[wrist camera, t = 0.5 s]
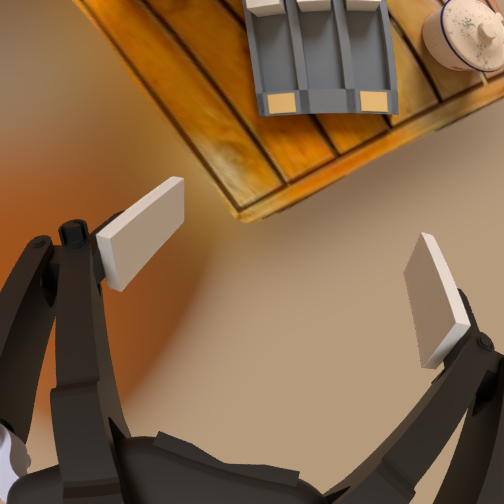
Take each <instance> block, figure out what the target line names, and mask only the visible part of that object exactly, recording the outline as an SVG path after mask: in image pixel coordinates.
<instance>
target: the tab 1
mask: <svg viewBox="0 0 504 504" xmlns="http://www.w3.org/2000/svg"><path fill="white" fill-rule="evenodd" d="M246 5H247V9H248V10H250V11H251V12H252V13H253V14H255V15H256V16H257V17H263V16H270V15H278V14H286V8H285V2H284V0H246Z"/></svg>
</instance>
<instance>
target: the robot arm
mask: <svg viewBox="0 0 504 504" xmlns="http://www.w3.org/2000/svg"><path fill="white" fill-rule="evenodd" d="M183 222H184V178H180V177H174V176H172V177H170V178H169V179H168V180H166V181H165V182H163V183H162V184H161V185H159V186H158V187H156V188H155V189H154V190H152V191H151V192H150V193H148V194H147V195H145V196H144V197H143V198H141V199H140V200H139V201H138V202H136V203H135V204H134V205H132V206H131V207H130V208H128V209H127V210H126V211H121V212H118V213H116V214H114V215H113V216H112V217H110V218H109V219H108V221H105V222H104V223H103V224H102V225H100V226H99V227H98V228H96V229H95V230H94V231H93V232H92V233H90V234H89V232H88V228H87V223H86V222H85V221H84V220H80V219H76V220H70V221H68V222H66V223H64V224H62V226H60V227H59V229H58V231H59V236H60V239H61V243H62V245H53V243H52V240H51V237H49V236H47V235H42V236H37V237H35V238H34V239H32V240H31V241H30V242H29V243H28V244H27V246H26V248H25V249H24V251H23V252H22V254H21V256H20V257H19V259H18V261H17V262H16V264H15V266H14V268H13V269H12V271H11V273H10V275H9V277H8V279H7V281H6V282H5V284H4V286H3V288H2V290H1V292H0V499H2V500H3V501H4V502H5V503H6V504H409V503H410V501H411V500H412V499H413V497H414V495H415V493H416V492H415V490H414V487H415V486H416V484H417V483H418V482H419V480H420V479H421V478H422V476H423V475H424V474H425V473H426V471H427V470H428V469H429V468H430V466H431V465H432V463H433V462H434V461H435V459H436V458H437V456H438V455H439V454H440V452H441V451H442V449H443V448H444V446H445V445H446V443H447V442H448V440H449V439H450V437H451V435H452V434H453V432H454V431H455V429H456V427H457V426H458V424H459V422H460V421H461V419H462V417H463V415H464V414H465V412H466V410H467V408H468V410H467V414H466V418H465V421H464V425H463V428H462V431H461V434H460V438H459V441H458V444H457V447H456V450H455V452H454V455H453V458H452V460H451V463H450V466H449V468H448V471H447V473H446V476H445V478H444V480H443V483H442V485H441V487H440V489H439V492H438V494H437V496H436V498H435V500H434V502H433V504H504V355H502V354H500V353H498V352H496V351H494V345H493V342H492V341H491V339H490V338H489V337H488V336H487V335H486V334H484V333H482V332H480V331H479V329H478V326H477V323H476V320H475V317H474V315H473V313H472V310H471V307H470V306H469V302H468V300H467V297H466V296H465V294H464V293H463V292H462V290H461V289H458V288H457V287H456V285H455V282H454V280H453V278H452V275H451V273H450V271H449V269H448V266H447V264H446V262H445V260H444V257H443V255H442V253H441V251H440V249H439V247H438V245H437V243H436V241H435V239H434V237H433V236H432V235H429V234H426V233H422V232H421V234H420V236H419V239H418V241H417V243H416V246H415V248H414V250H413V253H412V255H411V257H410V259H409V262H408V264H407V266H406V268H405V270H404V272H403V274H404V278H405V282H406V286H407V291H408V295H409V300H410V304H411V309H412V314H413V319H414V324H415V330H416V335H417V341H418V347H419V354H420V361H421V367H422V368H428V369H436V368H437V367H438V366H439V365H440V364H441V363H442V361H443V362H444V367H445V368H444V369H443V370H442V372H441V373H440V374H439V375H438V376H437V377H436V378H435V379H434V380H433V381H432V382H431V383H432V385H431V386H430V388H429V389H428V390H427V392H426V393H425V394H424V396H423V397H422V398H421V399H420V401H419V402H418V403H417V404H416V406H415V407H414V408H413V409H412V411H411V412H410V413H409V414H408V415H407V417H406V418H405V419H404V420H403V421H402V422H401V423H400V425H399V426H398V427H397V428H396V429H395V430H394V431H393V432H392V433H391V434H390V436H389V437H388V438H387V439H386V440H385V441H384V442H383V443H382V444H381V445H380V446H379V447H378V448H377V449H376V450H375V451H374V452H373V453H372V454H371V455H370V456H369V457H368V458H367V459H366V460H365V461H364V462H363V463H362V464H360V465H359V466H358V467H357V468H356V469H355V470H354V471H353V472H352V473H351V474H349V475H348V476H347V477H346V478H345V479H344V480H342V481H341V482H340V483H338V484H337V485H335V486H334V487H333V488H331V489H330V490H329V491H327V492H326V493H324V494H323V495H322V494H321V493H320V492H319V491H318V490H317V489H316V488H314V487H313V486H312V485H310V484H309V483H307V482H305V481H303V480H301V479H299V478H298V477H299V473H300V472H299V471H294V470H289V469H283V468H278V467H273V466H269V465H250V464H248V465H247V464H227V463H223V462H221V461H219V460H218V459H216V458H214V457H213V456H211V455H209V454H207V453H206V452H204V451H203V450H201V449H199V448H198V447H196V446H195V445H193V444H191V443H188V442H186V441H183V440H181V439H178V438H175V437H173V436H170V435H167V434H165V433H163V432H160V431H159V432H158V434H157V436H156V437H148V436H147V437H146V436H140V437H131V434H130V431H129V429H128V427H127V424H126V422H125V419H124V416H123V412H122V408H121V404H120V400H119V395H118V391H117V386H116V381H115V377H114V372H113V366H112V361H111V355H110V349H109V343H108V336H107V329H106V321H105V313H104V304H103V295H102V286H101V283H100V282H101V281H102V280H103V279H104V278H106V281H107V285H108V287H109V288H112V289H114V290H117V291H120V292H122V291H123V289H124V288H125V287H126V286H127V285H128V283H129V282H130V281H131V280H132V279H133V278H134V276H135V275H136V274H137V273H138V272H139V271H140V270H141V268H142V267H143V266H144V265H145V264H146V263H147V262H148V260H149V259H150V258H151V257H152V256H153V255H154V254H155V252H156V251H157V250H158V249H159V248H160V247H161V246H162V245H163V244H164V243H165V242H166V240H167V239H168V238H169V237H170V236H171V235H172V234H173V233H174V232H175V231H176V230H177V228H179V227H180V225H181V224H182V223H183ZM55 316H56V331H55V332H56V333H55V338H56V339H55V347H56V348H55V349H56V350H55V352H56V353H55V354H56V378H57V379H56V380H57V386H56V388H53V389H51V392H50V404H51V414H52V424H53V432H54V439H55V445H56V451H57V456H58V462H59V464H58V465H55V466H52V467H49V468H46V469H43V470H40V471H37V472H33V473H30V474H28V473H27V468H28V467H30V465H31V458H30V456H29V455H28V454H27V449H26V446H25V444H26V441H27V438H28V434H29V430H30V426H31V420H32V414H33V408H34V402H35V396H36V391H37V386H38V381H39V376H40V372H41V367H42V363H43V359H44V354H45V351H46V347H47V344H48V340H49V336H50V332H51V329H52V326H53V323H54V319H55Z"/></svg>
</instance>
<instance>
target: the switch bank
mask: <svg viewBox="0 0 504 504" xmlns="http://www.w3.org/2000/svg"><path fill="white" fill-rule="evenodd" d="M284 2H285V8H286V14H278V15H270V16H263V17H257V16H256V15H255V14H253V13H252V12H251V11H250V10H248V9H247V5H246V0H242V3H243V10H244V16H245V22H246V29H247V35H248V42H249V49H250V55H251V62H252V69H253V76H254V83H255V90H256V98H257V105H258V113H259V117H265V116H277V115H293V114H315V113H372V114H394V115H399V111H398V92H397V78H396V67H395V58H394V50H393V42H392V35H391V28H390V22H389V17H388V11H387V6H386V1H385V0H381V2H380V4H379V6H378V7H377V9H376V11H375V12H374V11H346V6H345V0H331V11H312V12H301V9H300V7H299V5H298V3H297V0H284Z"/></svg>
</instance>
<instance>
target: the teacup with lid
mask: <svg viewBox="0 0 504 504" xmlns="http://www.w3.org/2000/svg"><path fill="white" fill-rule="evenodd" d="M502 22H503V17H502V16H501V14H500V13H498V12H496V13H494V12H493V11H492V10H490V9H489V8H488V7H487V6H486V5H484V4H483V3H481V2H479V1H477V0H448V1H447V2H446V3H445V4H444V6H443V7H442V8H440V9H438V10H437V11H435V12H434V13H432V14H431V15H429V16H428V17H427V18H426V20H425V22H424V24H423V28H422V34H423V40H424V43H425V45H426V47H427V49H428V51H429V52H430V54H431V55H432V56H433V57H434V59H435V60H437V61H438V62H439V63H440V64H442V65H443V66H445V67H447V68H449V69H452V70H456V71H468V70H478V71H481V72H494V71H497V70H499V69H500V68H501V67H502V66H503V65H504V26H503V24H502Z"/></svg>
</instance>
